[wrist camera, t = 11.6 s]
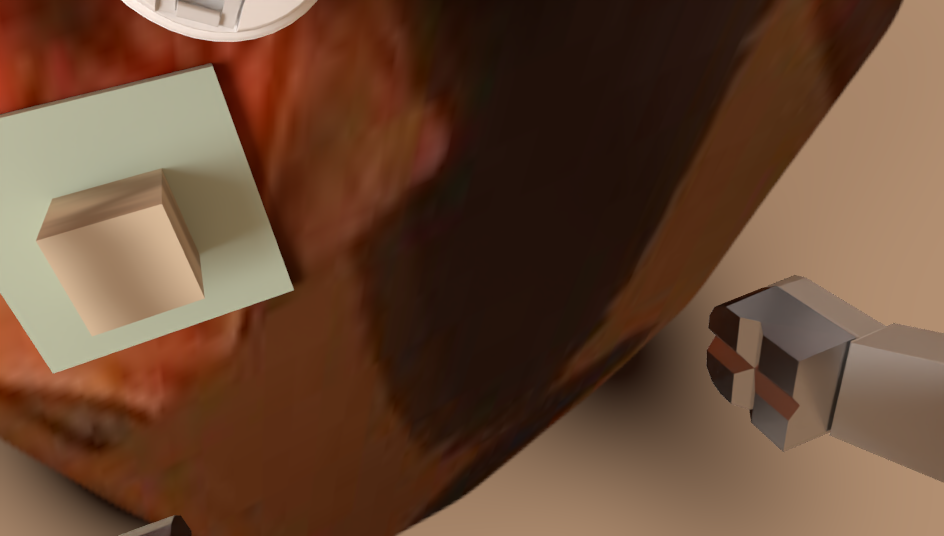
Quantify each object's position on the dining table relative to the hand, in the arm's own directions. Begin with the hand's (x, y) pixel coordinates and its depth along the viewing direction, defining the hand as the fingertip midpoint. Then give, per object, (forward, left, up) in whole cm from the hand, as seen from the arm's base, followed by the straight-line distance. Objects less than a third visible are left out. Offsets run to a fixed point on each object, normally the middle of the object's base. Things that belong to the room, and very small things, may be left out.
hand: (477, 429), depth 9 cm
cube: (+8, +6, -27) cm, 29 cm away
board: (+8, +6, -28) cm, 30 cm away
